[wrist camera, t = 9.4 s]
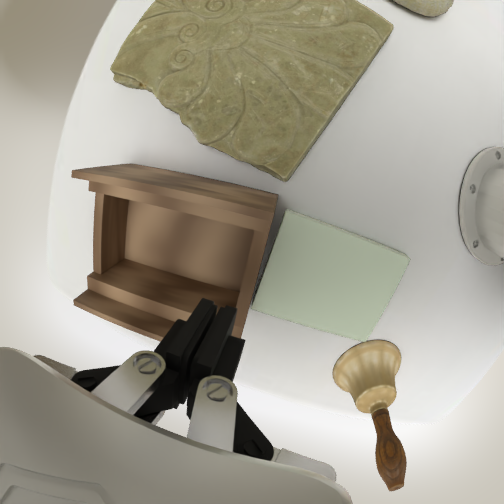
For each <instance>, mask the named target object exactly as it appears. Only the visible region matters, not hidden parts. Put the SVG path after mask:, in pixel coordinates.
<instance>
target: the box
mask: <svg viewBox="0 0 504 504" xmlns="http://www.w3.org/2000/svg"><path fill="white" fill-rule="evenodd" d="M72 178H78V179H83V180H89V191H92V192H96V196H95V210H94V232H93V269H94V272H92V273H91V274H90V275H88V276H87V282H88V289H87V290H86V291H85V292H83V293H82V294H81V295H79V296H78V297H77V298H76V299H74V300H73V301H74V305H75V306H77V307H79V308H81V309H83V310H85V311H87V312H90V313H92V314H94V315H96V316H98V317H101V318H103V319H105V320H107V321H110V322H112V323H114V324H117V325H119V326H122V327H124V328H126V329H129V330H131V331H134V332H137V333H139V334H142V335H144V336H147V337H150V338H152V339H155V340H158V341H162V339H163V338H164V337H165V335H166V334H167V332H168V331H169V330H170V328H171V327H172V326H173V324H174V323H175V322H176V320H177V319H181V320H184V321H187V320H188V318H189V317H190V315H191V314H192V312H193V311H194V309H195V308H196V306H197V305H198V304H199V302H200V301H201V299H202V298H205V299H208V300H212V301H214V305H217V306H218V308H217V313H218V311H219V309H220V307H224V308H225V306H226V305H228V306H231V307H235V308H238V310H237V315H236V319H235V323H234V327H233V331H232V335H231V336H234V337H237V338H240V339H241V336H242V332H243V328H244V325H245V321H246V317H247V314H248V310H249V306H250V303H251V299H252V295H253V291H254V288H255V284H256V280H257V276H258V273H259V269H260V265H261V261H262V258H263V254H264V250H265V246H266V242H267V239H268V235H269V231H270V227H271V223H272V220H273V217H274V213H275V208H276V203H277V199H278V194H274V193H270V192H266V191H262V190H258V189H254V188H250V187H245V186H241V185H237V184H233V183H228V182H224V181H219V180H215V179H210V178H205V177H201V176H196V175H191V174H186V173H181V172H176V171H170V170H165V169H159V168H154V167H148V166H142V165H136V164H120V165H110V166H101V167H93V168H85V169H78V170H72ZM217 313H216V315H217Z"/></svg>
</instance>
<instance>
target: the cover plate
mask: <svg viewBox="0 0 504 504" xmlns="http://www.w3.org/2000/svg"><path fill="white" fill-rule="evenodd" d="M409 262H410V258H409V257H408V256H407V255H406V254H403V253H401V252H399V251H396V250H394V249H392V248H389V247H387V246H384V245H382V244H379V243H377V242H374V241H372V240H369V239H367V238H364V237H362V236H359V235H357V234H354V233H351V232H349V231H346V230H344V229H341V228H338V227H336V226H333V225H330V224H327V223H325V222H322V221H319V220H317V219H314V218H311V217H308V216H305V215H303V214H300V213H297V212H294V211H291V210H288V209H286V210H285V213H284V216H283V219H282V222H281V225H280V228H279V230H278V233H277V236H276V239H275V242H274V245H273V247H272V250H271V253H270V256H269V259H268V261H267V264H266V267H265V270H264V273H263V275H262V278H261V281H260V284H259V286H258V289H257V292H256V295H255V297H254V300H253V303H252V307H251V309H253V310H256V311H259V312H262V313H265V314H268V315H271V316H275V317H278V318H281V319H284V320H287V321H291V322H294V323H297V324H301V325H304V326H307V327H311V328H314V329H318V330H321V331H325V332H328V333H332V334H336V335H339V336H343V337H347V338H350V339H354V340H358V341H362V342H366V340H367V339H368V337H369V336H370V334H371V332H372V331H373V329H374V327H375V326H376V324H377V322H378V321H379V319H380V317H381V315H382V314H383V312H384V310H385V308H386V307H387V305H388V303H389V301H390V299H391V297H392V296H393V294H394V292H395V290H396V288H397V286H398V284H399V282H400V280H401V278H402V276H403V274H404V272H405V270H406V268H407V266H408V264H409Z"/></svg>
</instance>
